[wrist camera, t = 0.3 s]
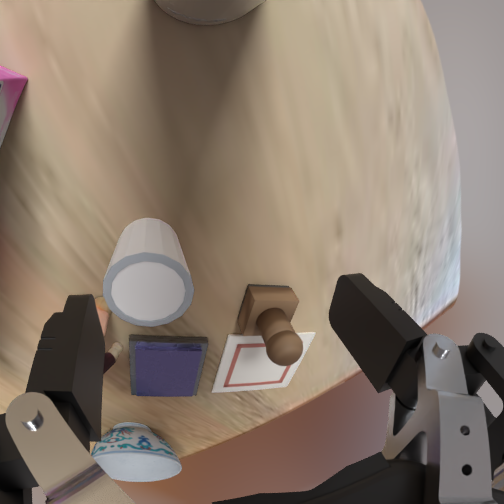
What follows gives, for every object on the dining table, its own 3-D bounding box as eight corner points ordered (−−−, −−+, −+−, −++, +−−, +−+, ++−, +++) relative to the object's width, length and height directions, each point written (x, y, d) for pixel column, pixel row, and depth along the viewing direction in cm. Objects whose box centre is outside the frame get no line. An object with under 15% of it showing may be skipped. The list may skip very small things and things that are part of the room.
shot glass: (196, 260, 29) (208, 309, 24) (133, 286, 29) (131, 338, 23) (167, 198, 25) (171, 237, 20) (98, 229, 25) (84, 275, 19)
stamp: (247, 283, 32) (274, 344, 25) (289, 285, 34) (323, 341, 27) (236, 318, 35) (259, 379, 27) (276, 318, 36) (304, 375, 29)
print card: (228, 334, 36) (228, 336, 35) (314, 332, 40) (315, 334, 40) (211, 390, 41) (212, 393, 41) (286, 385, 45) (286, 387, 45)
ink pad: (129, 334, 32) (129, 344, 30) (206, 337, 35) (209, 347, 34) (131, 388, 37) (131, 398, 35) (194, 389, 40) (196, 398, 39)
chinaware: (80, 407, 37) (78, 451, 30) (175, 409, 42) (182, 452, 35) (98, 445, 44) (100, 480, 37) (174, 445, 49) (181, 480, 42)
